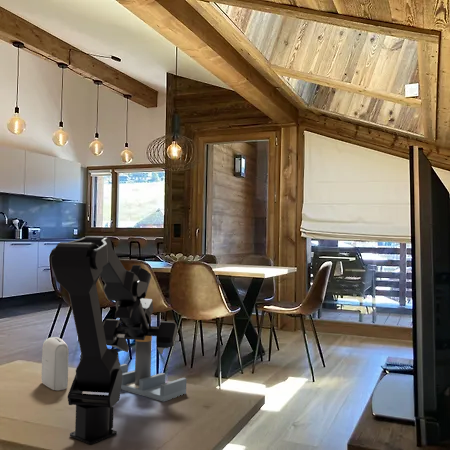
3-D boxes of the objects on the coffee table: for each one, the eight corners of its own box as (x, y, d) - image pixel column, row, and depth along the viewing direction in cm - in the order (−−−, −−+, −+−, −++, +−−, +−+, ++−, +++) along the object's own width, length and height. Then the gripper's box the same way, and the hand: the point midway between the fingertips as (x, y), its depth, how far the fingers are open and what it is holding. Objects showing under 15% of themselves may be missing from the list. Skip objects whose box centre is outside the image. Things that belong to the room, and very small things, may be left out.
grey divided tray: (163, 401, 111) (164, 385, 111) (101, 383, 125) (101, 369, 125) (186, 393, 118) (186, 378, 118) (124, 377, 131) (124, 363, 131)
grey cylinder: (148, 386, 119) (150, 334, 120) (132, 385, 119) (133, 333, 120) (152, 381, 123) (153, 331, 124) (136, 380, 124) (137, 330, 124)
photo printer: (39, 382, 125) (40, 335, 125) (55, 380, 127) (56, 333, 128) (52, 392, 117) (54, 341, 117) (69, 389, 120) (71, 340, 120)
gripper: (176, 289, 117) (185, 327, 128) (104, 287, 120) (118, 324, 130) (167, 327, 109) (177, 363, 120) (90, 323, 112) (107, 360, 122)
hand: (144, 351), depth 123 cm, fingers open, 9 cm apart
